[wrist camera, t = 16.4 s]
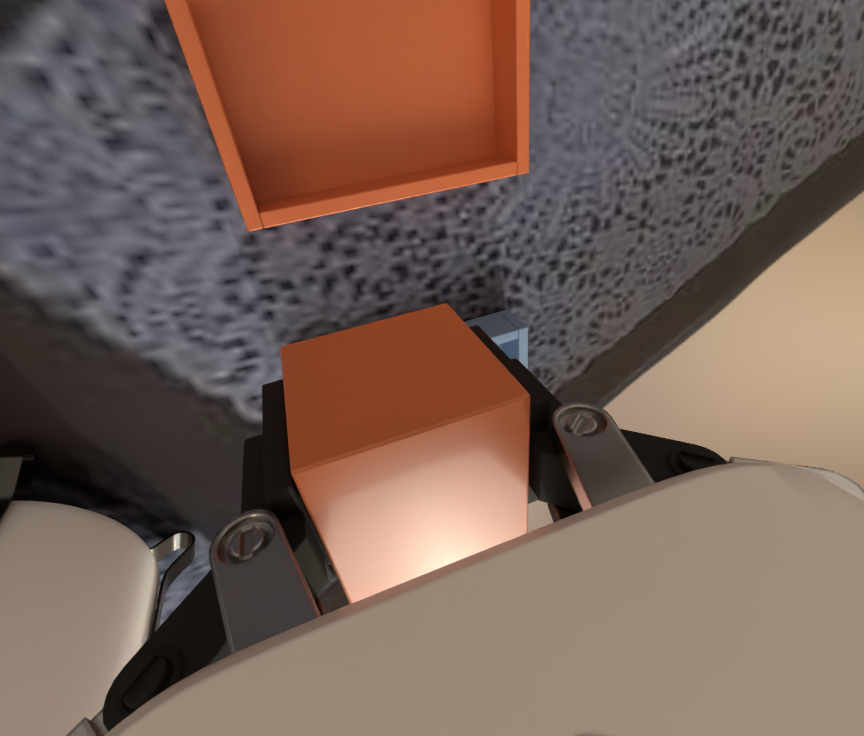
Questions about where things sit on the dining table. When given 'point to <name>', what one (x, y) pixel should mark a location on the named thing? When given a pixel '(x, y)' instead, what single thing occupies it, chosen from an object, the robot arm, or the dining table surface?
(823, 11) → the dining table surface
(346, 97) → the terracotta tray
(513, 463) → the terracotta block
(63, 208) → the dining table surface
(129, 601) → the coffee press
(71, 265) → the dining table surface
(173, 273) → the dining table surface
